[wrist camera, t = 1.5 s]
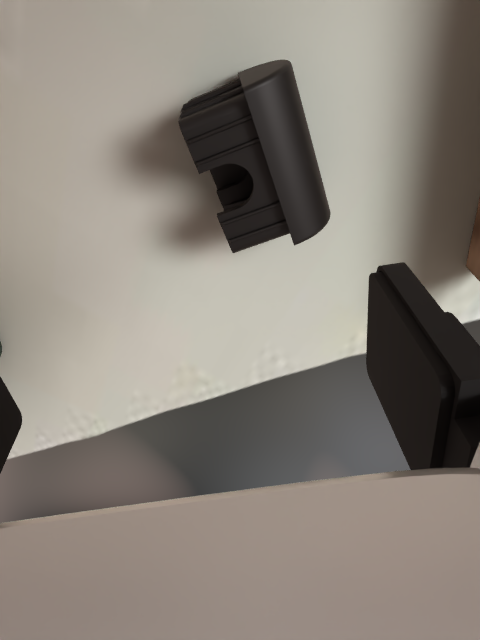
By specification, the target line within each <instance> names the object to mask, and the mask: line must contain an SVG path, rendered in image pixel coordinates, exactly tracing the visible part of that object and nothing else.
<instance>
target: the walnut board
mask: <svg viewBox="0 0 480 640" xmlns="http://www.w3.org/2000/svg"><path fill="white" fill-rule="evenodd" d="M466 267H467V268H468V269H469V270H470V271H471V272H472V274H473V275H474V276H475V277H476V278H477V279H478V280H479V281H480V198H479V203H478V208H477V213H476V218H475V223H474V228H473V233H472V238H471V243H470V248H469V253H468V258H467V263H466Z"/></svg>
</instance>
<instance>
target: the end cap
mask: <svg viewBox="0 0 480 640" xmlns="http://www.w3.org/2000/svg"><path fill="white" fill-rule="evenodd" d="M238 74H239V78H240V79H239V80H236V81H234V82H232V83H229V84H227V85H224V86H222V87H220V88H217V89H215V90H212V91H210V92H208V93H205V94H203V95H200V96H198V97H196V98H193V99H191V100H190V101H189V102H188V103H186V104H184V105H183V108H182V110H181V115H180V117H179V126H180V129H181V131H182V134H183V136H184V139H185V141H186V143H187V146H188V148H189V151H190V153H191V155H192V158H193V160H194V162H195V165H196V167H197V170H198V172H199V174H200V173H203V172H205V171H208V170H210V171H211V174H212V176H213V179H214V181H215V184H216V186H217V189H218V190H217V194H218V196H219V199H220V201H221V204H222V206H223V208H224V211H223V212H220V213H218V214H217V217H218V220H219V222H220V224H221V227H222V229H223V231H224V234H225V236H226V239H227V241H228V243H229V246H230V248H231V250H232V252H233V253H235V252H238V251H241V250H244V249H247V248H249V247H252V246H255V245H258V244H261V243H264V242H266V241H269V240H272V239H275V238H278V237H281V236H283V235H286V234H289V233H290V234H291V237H292V240H293V243H294V245H296V244H299V243H301V242H303V241H305V240H307V239H309V238H311V237H313V236H314V235H316V234H317V233H318V232H319V231H321V230H322V229H323V228H324V227H325V225H326V224H327V223H328V221H329V219H330V209H329V205H328V201H327V198H326V194H325V190H324V186H323V182H322V178H321V175H320V171H319V167H318V163H317V159H316V156H315V152H314V148H313V144H312V140H311V137H310V133H309V129H308V125H307V121H306V118H305V114H304V110H303V106H302V102H301V99H300V95H299V91H298V87H297V83H296V80H295V76H294V72H293V68H292V64H291V62H290V61H288V60H276V61H271V62H268V63H264V64H261V65H258V66H255V67H252V68H249V69H247V70H244V71H242V72H239V73H238Z"/></svg>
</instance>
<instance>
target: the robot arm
mask: <svg viewBox="0 0 480 640" xmlns="http://www.w3.org/2000/svg"><path fill="white" fill-rule="evenodd" d="M366 364H367V372H368V375H369V378H370V380H371V382H372V385H373V387H374V389H375V391H376V393H377V396H378V398H379V400H380V402H381V405H382V407H383V409H384V411H385V414H386V416H387V418H388V420H389V423H390V424H391V427H392V429H393V431H394V434H395V436H396V438H397V440H398V442H399V445H400V447H401V449H402V451H403V454H404V456H405V458H406V460H407V462H408V465H409V467H410V469H411V470H407V471H406V470H405V471H394V472H384V473H376V474H367V475H359V476H350V477H341V478H333V479H324V480H315V481H308V482H300V483H292V484H285V485H277V486H269V487H262V488H254V489H247V490H239V491H232V492H224V493H217V494H209V495H201V496H194V497H186V498H179V499H171V500H164V501H157V502H150V503H143V504H135V505H128V506H121V507H113V508H106V509H98V510H92V511H85V512H77V513H70V514H63V515H56V516H48V517H41V518H34V519H27V520H20V521H13V522H6V523H0V640H480V346H479V345H478V344H477V342H476V341H475V340H474V339H473V337H472V336H471V335H470V334H469V333H468V331H467V330H466V329H465V328H464V326H463V325H462V324H461V323H460V322H459V320H458V319H457V318H456V317H455V316H454V315H453V314H452V313H449V312H444V311H443V310H442V309H441V308H440V306H439V305H438V304H437V303H436V301H435V300H434V299H433V297H432V296H431V295H430V294H429V292H428V291H427V290H426V289H425V287H424V286H423V285H422V284H421V282H420V281H419V280H418V279H417V277H416V276H415V275H414V274H413V272H412V271H411V270H410V269H409V267H408V266H407V265H406V264H405V263H396V264H389V265H383V266H379V267H378V268H377V273H371V274H370V276H369V294H368V325H367V357H366ZM21 425H22V416H21V412H20V410H19V408H18V407H17V405H16V403H15V401H14V400H13V398H12V396H11V394H10V392H9V391H8V389H7V387H6V385H5V384H4V382H3V380H2V378H1V377H0V473H1V471H2V468H3V466H4V464H5V462H6V459H7V457H8V455H9V453H10V450H11V448H12V446H13V444H14V441H15V439H16V437H17V435H18V432H19V430H20V428H21Z"/></svg>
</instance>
